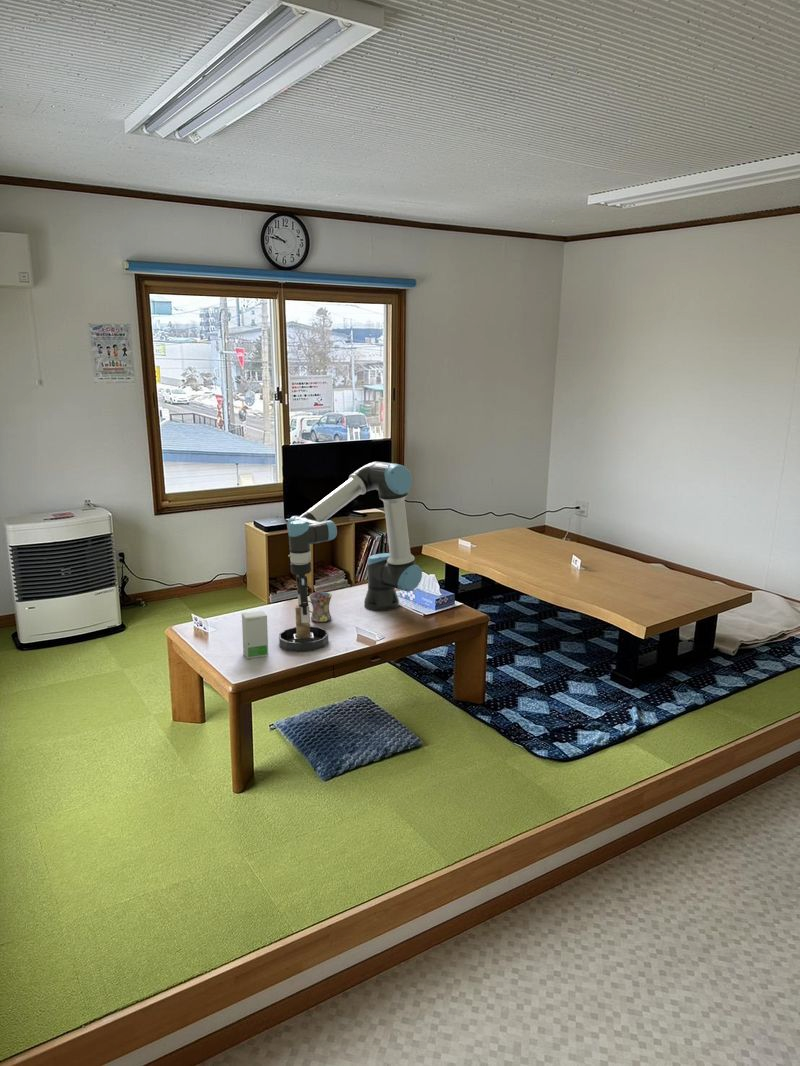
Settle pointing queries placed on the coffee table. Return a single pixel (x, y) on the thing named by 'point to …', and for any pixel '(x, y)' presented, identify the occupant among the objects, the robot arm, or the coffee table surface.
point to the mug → (320, 606)
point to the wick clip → (303, 639)
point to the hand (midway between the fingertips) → (303, 616)
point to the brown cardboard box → (302, 624)
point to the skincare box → (255, 634)
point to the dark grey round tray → (318, 643)
